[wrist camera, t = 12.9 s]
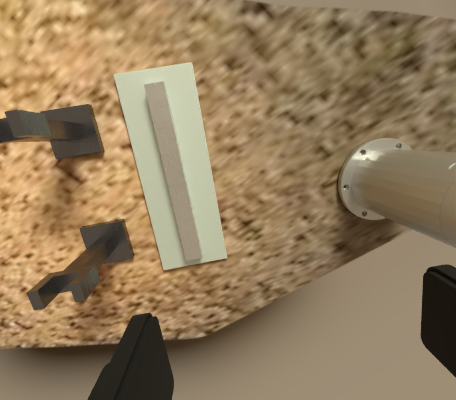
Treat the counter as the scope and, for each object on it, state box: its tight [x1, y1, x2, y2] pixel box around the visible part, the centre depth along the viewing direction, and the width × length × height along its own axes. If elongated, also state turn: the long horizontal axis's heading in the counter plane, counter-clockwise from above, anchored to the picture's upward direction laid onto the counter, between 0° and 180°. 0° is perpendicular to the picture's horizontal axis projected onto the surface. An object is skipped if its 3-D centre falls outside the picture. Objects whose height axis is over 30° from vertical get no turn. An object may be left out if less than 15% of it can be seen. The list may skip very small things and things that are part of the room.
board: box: [113, 62, 227, 270], centre depth 35 cm, size 10×28×1 cm, turn 9°
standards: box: [0, 104, 134, 310], centre depth 28 cm, size 6×22×14 cm, turn 9°
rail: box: [144, 81, 203, 261], centre depth 34 cm, size 2×24×2 cm, turn 10°
